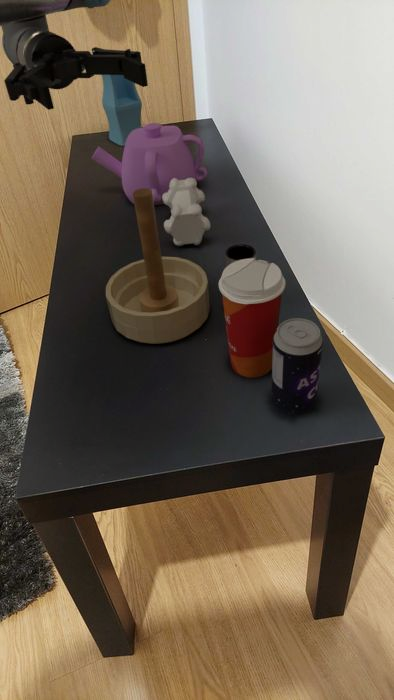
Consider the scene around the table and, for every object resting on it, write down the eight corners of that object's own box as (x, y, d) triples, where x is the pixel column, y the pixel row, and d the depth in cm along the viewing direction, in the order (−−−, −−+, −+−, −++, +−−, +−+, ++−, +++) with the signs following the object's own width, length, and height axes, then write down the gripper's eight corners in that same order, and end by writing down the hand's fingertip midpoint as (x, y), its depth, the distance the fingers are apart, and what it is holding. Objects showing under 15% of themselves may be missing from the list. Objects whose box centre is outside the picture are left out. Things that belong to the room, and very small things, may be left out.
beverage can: (296, 426, 63) (302, 355, 55) (262, 402, 66) (263, 332, 58) (324, 401, 66) (334, 330, 58) (290, 379, 69) (295, 309, 61)
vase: (121, 146, 139) (107, 64, 125) (108, 139, 144) (93, 59, 130) (146, 139, 142) (135, 58, 128) (133, 131, 147) (121, 53, 133)
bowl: (132, 360, 74) (125, 328, 70) (100, 304, 85) (93, 274, 81) (226, 325, 79) (225, 294, 75) (185, 276, 89) (182, 247, 85)
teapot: (218, 188, 115) (215, 122, 105) (142, 221, 106) (130, 152, 96) (169, 165, 126) (162, 104, 117) (96, 193, 118) (82, 129, 108)
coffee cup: (239, 337, 76) (237, 250, 66) (291, 353, 73) (296, 264, 63) (212, 372, 71) (204, 284, 61) (265, 392, 68) (267, 301, 58)
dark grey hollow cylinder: (223, 312, 81) (219, 256, 74) (234, 296, 84) (233, 241, 77) (249, 319, 79) (248, 262, 72) (260, 302, 82) (260, 247, 75)
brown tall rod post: (150, 327, 79) (128, 206, 65) (137, 306, 83) (114, 189, 69) (185, 314, 80) (171, 194, 67) (170, 295, 84) (154, 178, 71)
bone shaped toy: (164, 214, 107) (159, 177, 102) (205, 210, 108) (202, 172, 102) (166, 251, 96) (161, 211, 91) (212, 246, 96) (209, 206, 91)
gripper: (123, 69, 88) (182, 95, 74) (-22, 101, 80) (14, 139, 65) (115, 18, 83) (177, 36, 69) (-40, 47, 75) (-6, 74, 60)
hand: (97, 86), depth 67 cm, fingers open, 13 cm apart
